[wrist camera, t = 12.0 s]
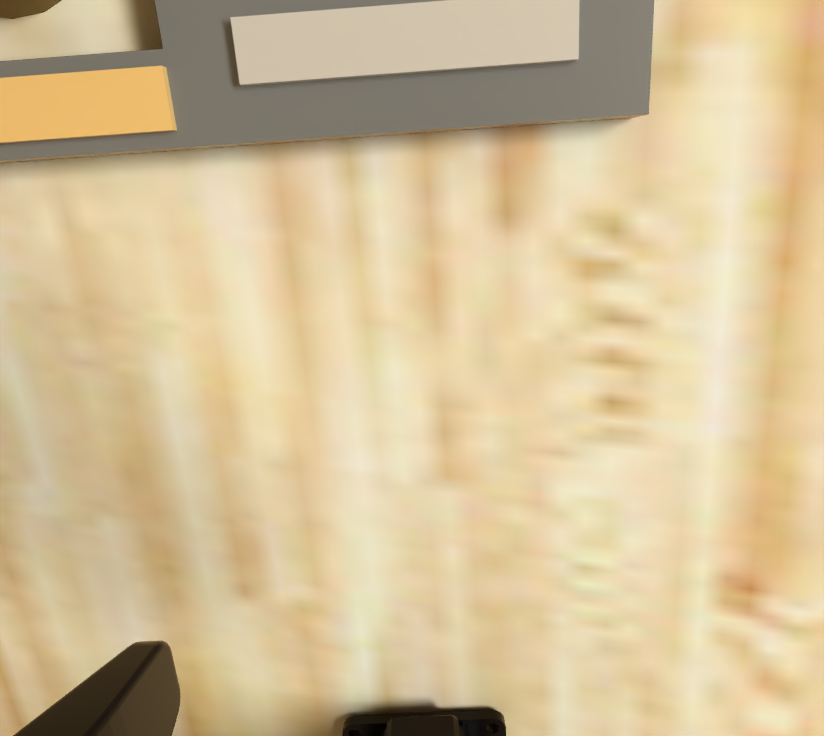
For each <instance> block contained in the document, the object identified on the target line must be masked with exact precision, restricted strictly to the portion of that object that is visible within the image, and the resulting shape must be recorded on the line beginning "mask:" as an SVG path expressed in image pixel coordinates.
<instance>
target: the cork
mask: <svg viewBox="0 0 824 736" xmlns="http://www.w3.org/2000/svg"><path fill="white" fill-rule="evenodd" d="M60 1H61V0H0V17H4V18H11V19H14V18H19V17H23V16H28V15H32V14H37V13H42V12H45V11H46V10H48V9H49V8H51V7H52V6H54V5H55V4H57V3H58V2H60Z"/></svg>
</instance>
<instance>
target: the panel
mask: <svg viewBox="0 0 824 736" xmlns="http://www.w3.org/2000/svg"><path fill="white" fill-rule="evenodd" d="M155 5H156V11H157V17H158V23H159V29H160V34H161V40H162V46H163V49H155V50H142V51H129V52H116V53H103V54H90V55H77V56H64V57H51V58H38V59H25V60H12V61H0V163H8V162H22V161H36V160H50V159H64V158H78V157H92V156H106V155H120V154H134V153H148V152H161V151H175V150H189V149H203V148H217V147H231V146H245V145H259V144H273V143H287V142H301V141H315V140H329V139H343V138H357V137H371V136H385V135H399V134H413V133H427V132H440V131H454V130H468V129H482V128H496V127H510V126H524V125H538V124H552V123H566V122H580V121H594V120H608V119H622V118H635V117H639V116H643V115H647V114H649V97H650V76H651V55H652V34H653V13H654V0H155Z"/></svg>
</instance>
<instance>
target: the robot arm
mask: <svg viewBox="0 0 824 736" xmlns="http://www.w3.org/2000/svg"><path fill="white" fill-rule="evenodd" d="M179 706H180V687H179V683H178V678H177V674H176V670H175V665H174V661H173V657H172V652H171V649H170V646H169V645H168V643H166V642H164V641H144V642H136V643H134V644H132V645H130V646H129V647H127V648H126V649H125V650H124V651H122V652H121V653H120V654H118V655H117V656H116V657H114V658H113V659H112V660H111V661H109V662H108V663H107V664H105V665H104V666H103V667H102V668H100V669H99V670H98V671H96V672H95V673H94V674H92V675H91V676H90V677H89V678H87V679H86V680H85V681H83V682H82V683H81V684H80V685H78V686H77V687H76V688H74V689H73V690H72V691H70V692H69V693H68V694H67V695H65V696H64V697H63V698H61V699H60V700H59V701H57V702H56V703H55V704H54V705H52V706H51V707H50V708H48V709H47V710H46V711H45V712H43V713H42V714H41V715H39V716H38V717H37V718H35V719H34V720H33V721H32V722H30V723H29V724H28V725H26V726H25V727H24V728H22V729H21V730H20V731H19V732H17V733H16V734H15V735H13V736H172V733H173V729H174V726H175V722H176V718H177V715H178V711H179ZM490 724H494V725H490ZM353 729H357V730H353ZM343 736H506V726H505V720H504V716H503V715H502V714H501V713H500V712H498V711H494V710H484V711H460V712H436V713H412V714H387V715H363V716H352V717H349V718H347V719H346V720H345V722H344V727H343Z"/></svg>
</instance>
